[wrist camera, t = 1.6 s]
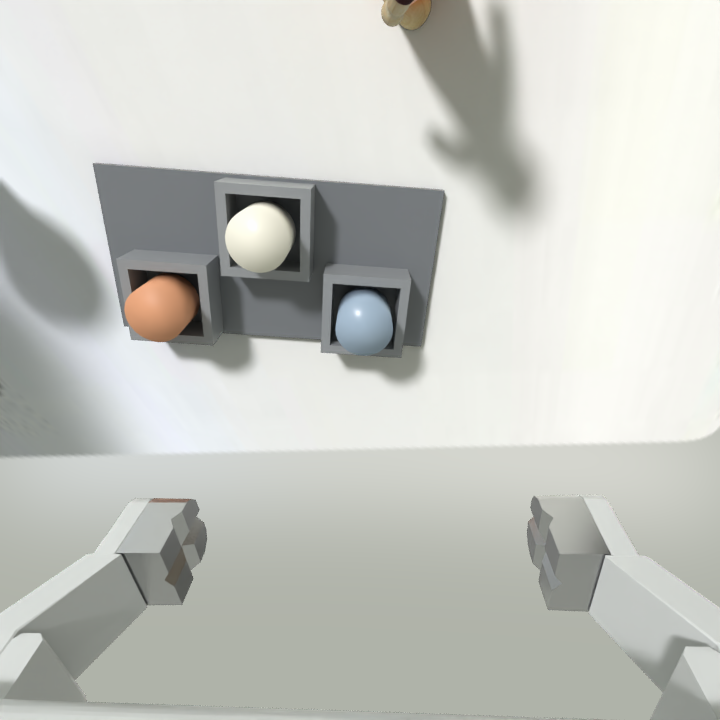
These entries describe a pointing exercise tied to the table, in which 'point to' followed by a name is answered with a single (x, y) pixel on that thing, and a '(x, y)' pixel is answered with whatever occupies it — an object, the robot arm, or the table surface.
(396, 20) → the grandmother figurine
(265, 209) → the cream button
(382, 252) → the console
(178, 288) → the rust button
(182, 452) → the table surface
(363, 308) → the slate button
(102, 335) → the table surface
